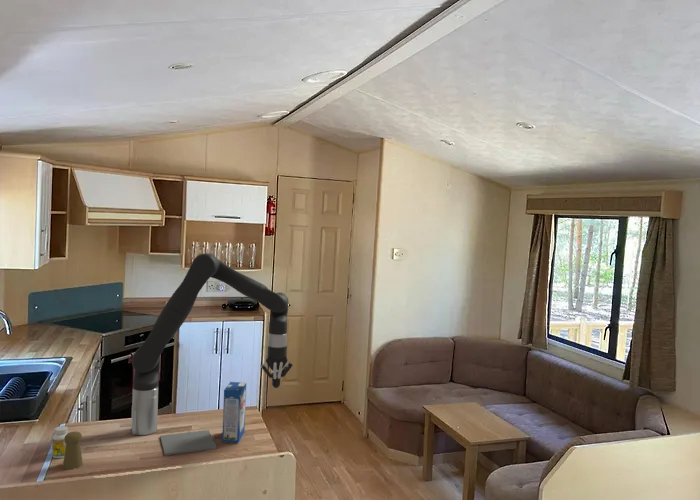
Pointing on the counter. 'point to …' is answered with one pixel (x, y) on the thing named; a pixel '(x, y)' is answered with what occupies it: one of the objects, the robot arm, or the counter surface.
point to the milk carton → (234, 412)
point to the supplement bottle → (59, 442)
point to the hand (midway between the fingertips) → (275, 387)
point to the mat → (187, 442)
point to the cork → (73, 451)
